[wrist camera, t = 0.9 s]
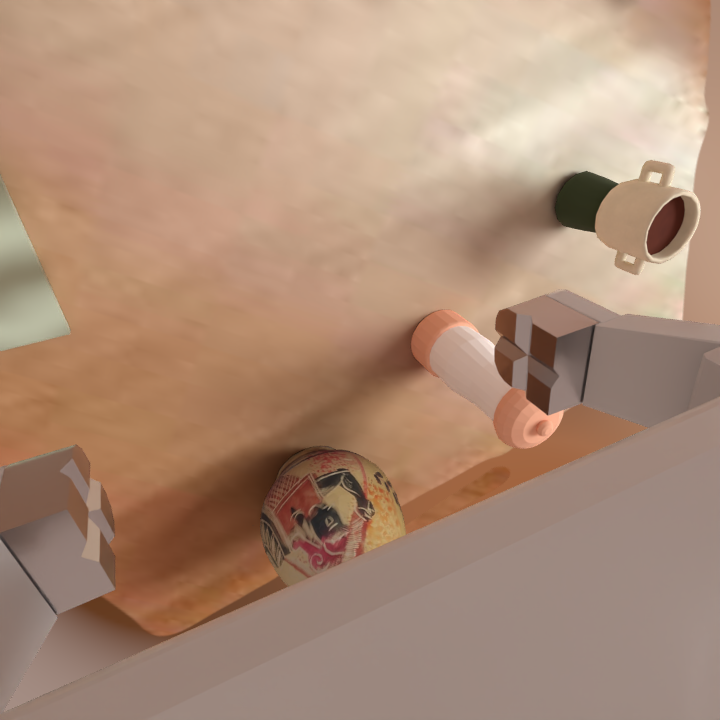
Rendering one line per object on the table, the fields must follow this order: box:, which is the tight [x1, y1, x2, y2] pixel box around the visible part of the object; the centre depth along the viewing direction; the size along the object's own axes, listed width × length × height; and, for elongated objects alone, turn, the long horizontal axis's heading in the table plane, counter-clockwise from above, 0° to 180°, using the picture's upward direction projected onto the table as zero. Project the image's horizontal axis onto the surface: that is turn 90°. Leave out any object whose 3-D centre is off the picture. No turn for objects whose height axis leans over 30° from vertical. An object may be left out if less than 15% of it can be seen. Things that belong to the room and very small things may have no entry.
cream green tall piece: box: [555, 160, 701, 275], centre depth 54 cm, size 11×7×13 cm, turn 177°
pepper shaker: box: [411, 310, 564, 448], centre depth 53 cm, size 7×7×19 cm
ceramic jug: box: [260, 446, 406, 587], centre depth 51 cm, size 17×15×30 cm
